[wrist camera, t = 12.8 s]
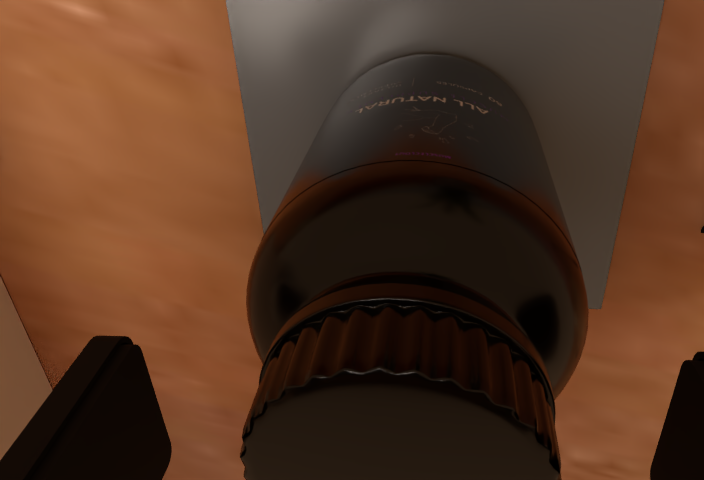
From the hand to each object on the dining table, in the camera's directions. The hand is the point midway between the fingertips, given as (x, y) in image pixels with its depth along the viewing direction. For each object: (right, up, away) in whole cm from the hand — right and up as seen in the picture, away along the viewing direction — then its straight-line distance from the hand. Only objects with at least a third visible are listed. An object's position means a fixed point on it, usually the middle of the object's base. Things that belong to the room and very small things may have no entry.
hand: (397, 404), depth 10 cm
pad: (+2, +6, +9) cm, 11 cm away
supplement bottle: (+2, +6, +8) cm, 10 cm away
